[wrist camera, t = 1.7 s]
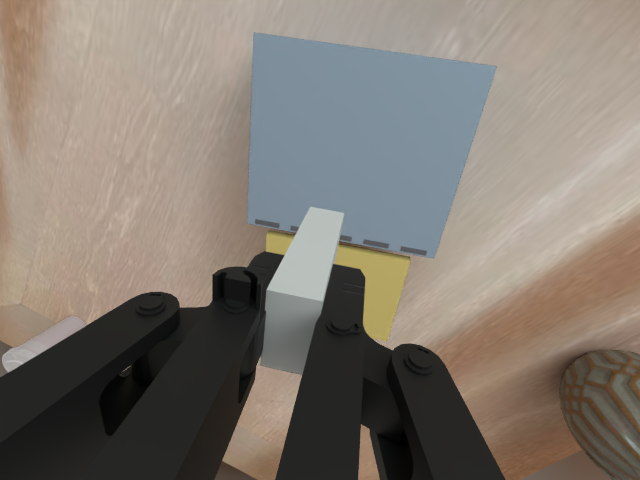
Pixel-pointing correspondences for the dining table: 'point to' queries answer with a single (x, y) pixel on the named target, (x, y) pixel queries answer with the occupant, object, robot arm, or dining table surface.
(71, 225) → the dining table surface
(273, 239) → the yellow rectangular panel
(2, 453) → the robot arm
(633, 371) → the vase
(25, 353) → the smoothie
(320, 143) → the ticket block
